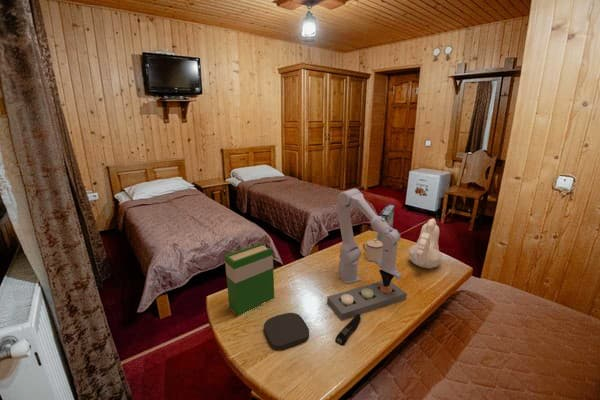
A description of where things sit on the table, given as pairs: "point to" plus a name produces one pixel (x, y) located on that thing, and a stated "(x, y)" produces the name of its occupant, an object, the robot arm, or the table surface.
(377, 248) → the teacup with lid
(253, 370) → the table surface
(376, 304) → the button panel
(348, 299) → the cream button
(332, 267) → the table surface
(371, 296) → the sage button
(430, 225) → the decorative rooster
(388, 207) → the gum box
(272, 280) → the hardback book
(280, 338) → the media streaming box
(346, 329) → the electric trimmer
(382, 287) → the terracotta button
